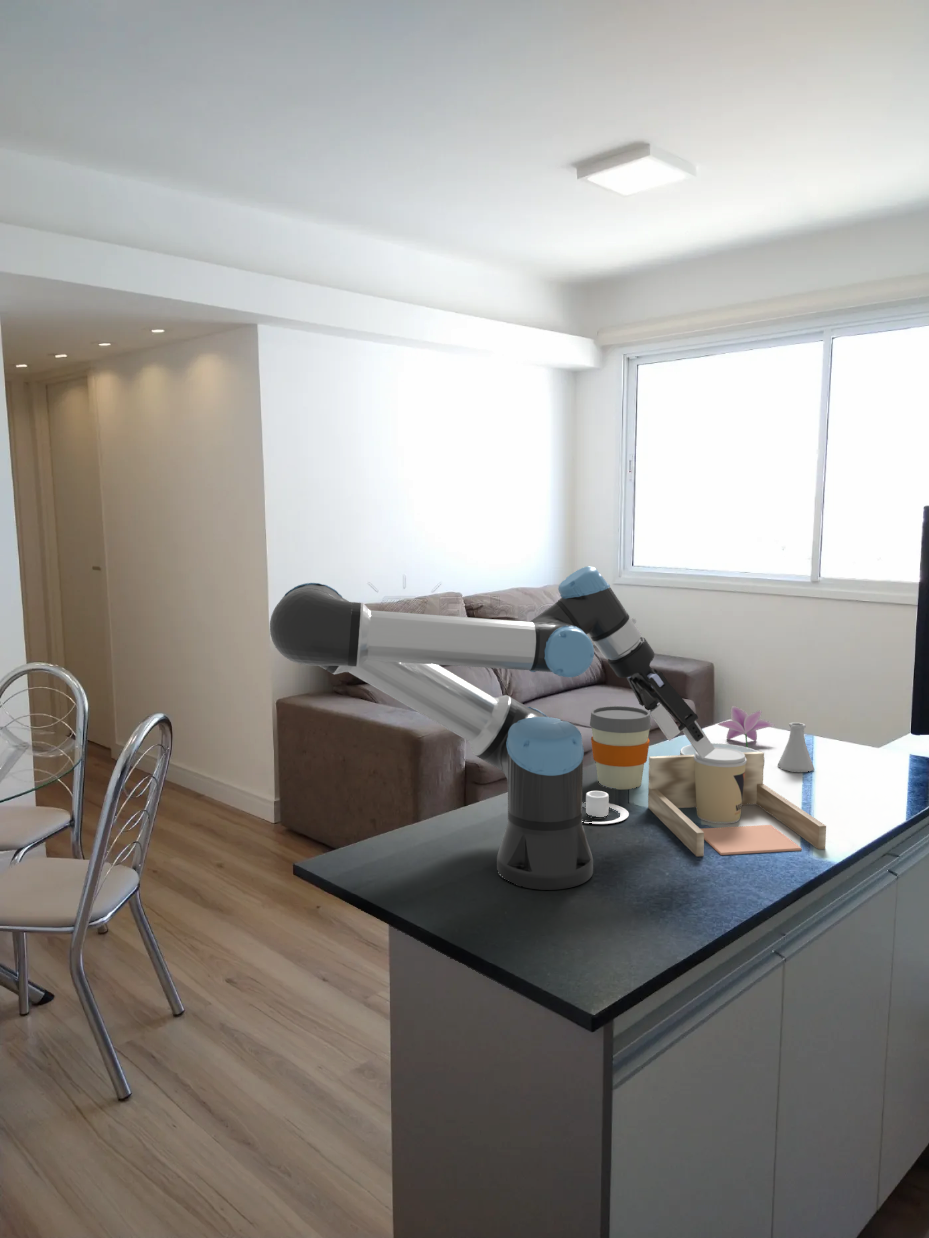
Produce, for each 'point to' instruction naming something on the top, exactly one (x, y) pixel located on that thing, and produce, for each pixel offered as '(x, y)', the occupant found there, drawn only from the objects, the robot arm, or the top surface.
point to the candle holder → (602, 807)
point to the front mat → (748, 840)
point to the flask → (796, 751)
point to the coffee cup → (720, 785)
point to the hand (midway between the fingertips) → (690, 744)
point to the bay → (678, 790)
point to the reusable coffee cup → (620, 745)
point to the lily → (744, 724)
